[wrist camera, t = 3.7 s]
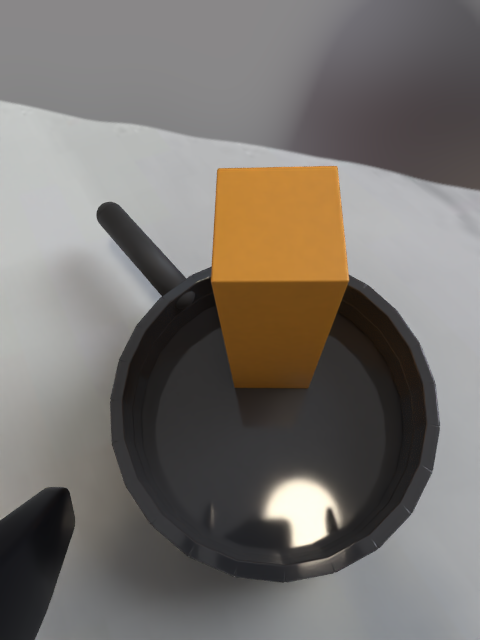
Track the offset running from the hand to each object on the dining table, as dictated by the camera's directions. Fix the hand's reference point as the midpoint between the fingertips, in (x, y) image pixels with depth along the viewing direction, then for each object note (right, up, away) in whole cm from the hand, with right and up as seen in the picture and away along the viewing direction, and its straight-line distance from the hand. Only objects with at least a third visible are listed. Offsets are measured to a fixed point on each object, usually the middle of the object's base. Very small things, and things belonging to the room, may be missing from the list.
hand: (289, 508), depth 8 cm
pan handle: (-6, +7, +16) cm, 19 cm away
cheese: (+1, +2, +15) cm, 15 cm away
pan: (+1, -1, +14) cm, 14 cm away
